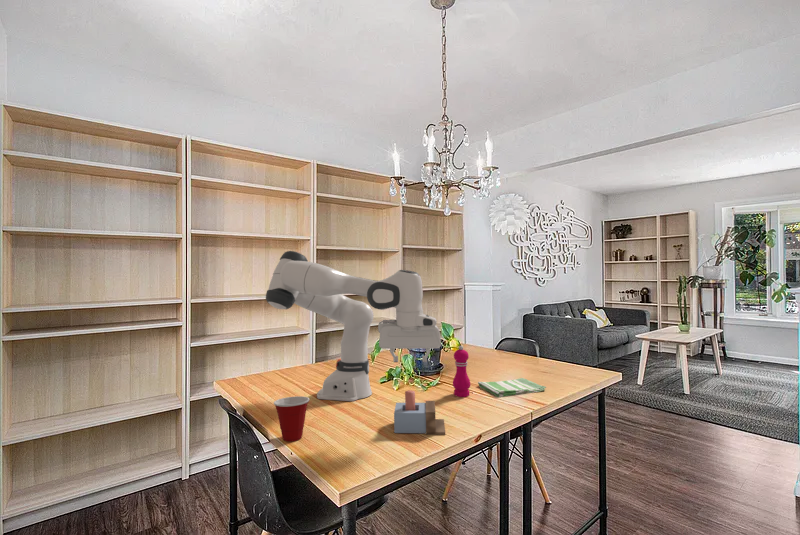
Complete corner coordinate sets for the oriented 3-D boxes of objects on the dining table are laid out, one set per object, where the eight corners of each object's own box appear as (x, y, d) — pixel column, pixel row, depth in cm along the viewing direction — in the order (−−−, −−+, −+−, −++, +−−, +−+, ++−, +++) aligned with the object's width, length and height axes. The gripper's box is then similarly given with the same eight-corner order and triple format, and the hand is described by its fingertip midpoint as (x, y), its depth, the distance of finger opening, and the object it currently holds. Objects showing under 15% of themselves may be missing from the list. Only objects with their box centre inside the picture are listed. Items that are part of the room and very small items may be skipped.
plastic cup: (306, 428, 136) (306, 392, 136) (313, 441, 126) (312, 401, 126) (272, 434, 132) (271, 396, 132) (276, 447, 122) (275, 407, 122)
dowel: (405, 424, 134) (404, 393, 134) (405, 420, 138) (405, 390, 138) (415, 424, 134) (414, 393, 134) (415, 420, 137) (415, 390, 137)
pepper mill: (470, 397, 165) (469, 347, 165) (452, 397, 167) (451, 347, 167) (471, 392, 172) (470, 344, 172) (453, 391, 174) (452, 343, 174)
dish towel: (547, 392, 173) (547, 385, 173) (498, 399, 165) (498, 392, 165) (521, 381, 190) (521, 375, 190) (476, 387, 182) (476, 380, 182)
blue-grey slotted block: (394, 432, 131) (394, 413, 131) (396, 421, 141) (396, 402, 141) (426, 433, 131) (425, 413, 131) (426, 421, 141) (425, 402, 141)
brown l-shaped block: (426, 434, 130) (425, 412, 130) (426, 421, 141) (425, 400, 141) (445, 434, 130) (445, 412, 130) (443, 421, 141) (443, 400, 141)
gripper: (376, 321, 133) (377, 364, 133) (440, 320, 132) (441, 364, 132) (379, 318, 140) (379, 359, 140) (440, 318, 138) (440, 359, 139)
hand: (410, 361), depth 136 cm, fingers open, 8 cm apart
